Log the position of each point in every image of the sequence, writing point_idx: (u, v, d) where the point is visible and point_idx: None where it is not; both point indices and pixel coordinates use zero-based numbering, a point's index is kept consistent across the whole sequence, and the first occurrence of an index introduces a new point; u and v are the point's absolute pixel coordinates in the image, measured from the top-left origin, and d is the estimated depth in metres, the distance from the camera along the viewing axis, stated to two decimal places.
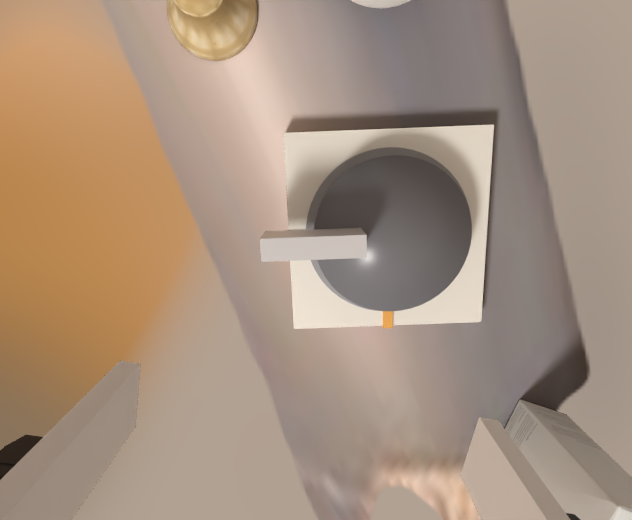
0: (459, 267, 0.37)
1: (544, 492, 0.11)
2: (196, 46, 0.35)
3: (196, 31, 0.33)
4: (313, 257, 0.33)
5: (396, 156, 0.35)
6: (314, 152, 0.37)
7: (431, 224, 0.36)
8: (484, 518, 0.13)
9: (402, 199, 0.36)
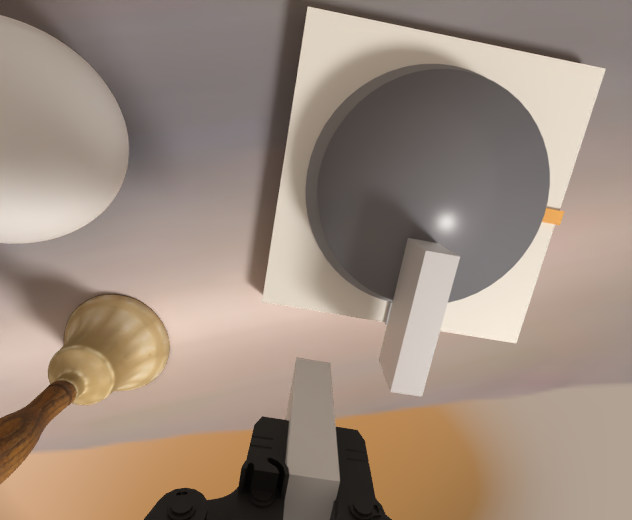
0: (511, 98, 0.23)
1: (327, 410, 0.13)
2: (151, 372, 0.31)
3: (133, 375, 0.29)
4: (436, 329, 0.23)
5: (322, 170, 0.24)
6: (293, 269, 0.28)
7: (431, 134, 0.24)
8: None
9: (384, 171, 0.24)
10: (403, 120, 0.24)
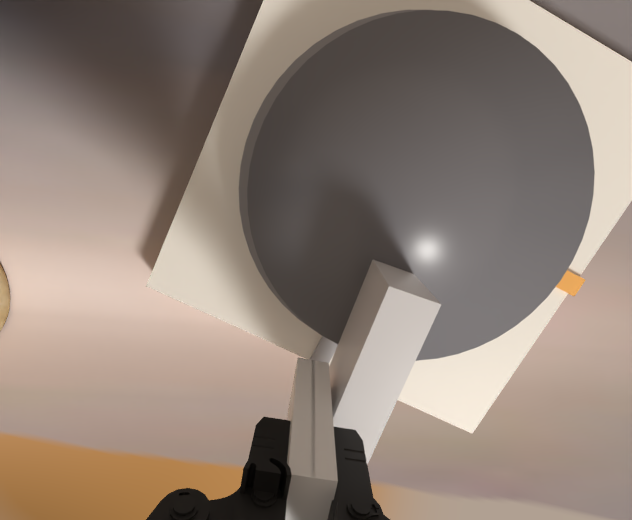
0: (556, 78, 0.16)
1: (326, 410, 0.13)
2: None
3: None
4: (387, 409, 0.15)
5: (260, 137, 0.16)
6: (200, 253, 0.20)
7: (431, 112, 0.16)
8: None
9: (352, 155, 0.16)
10: (392, 83, 0.16)
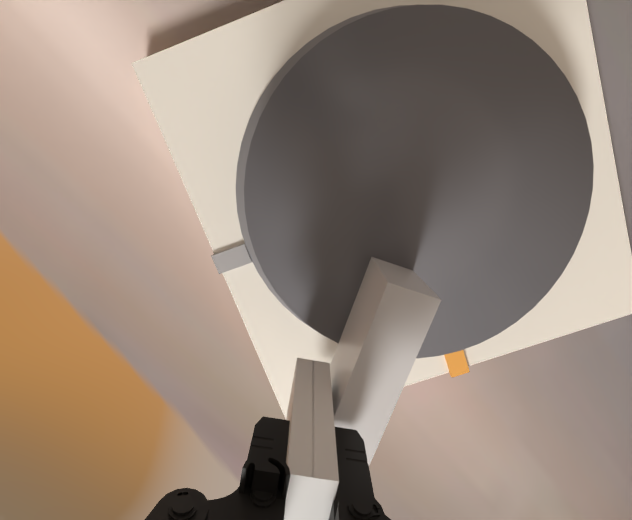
0: (553, 70, 0.15)
1: (327, 410, 0.13)
2: None
3: None
4: (388, 407, 0.14)
5: (256, 135, 0.16)
6: (206, 82, 0.18)
7: (427, 107, 0.16)
8: None
9: (348, 152, 0.16)
10: (387, 78, 0.15)
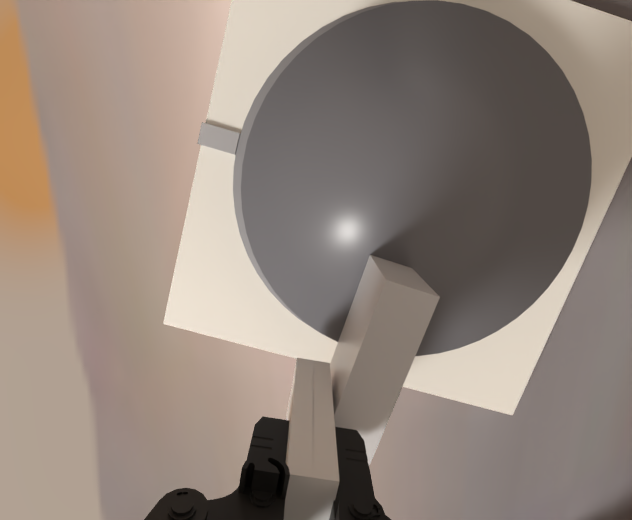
0: (549, 65, 0.15)
1: (327, 410, 0.13)
2: None
3: None
4: (388, 405, 0.14)
5: (252, 134, 0.16)
6: None
7: (423, 103, 0.16)
8: None
9: (345, 150, 0.16)
10: (383, 75, 0.15)
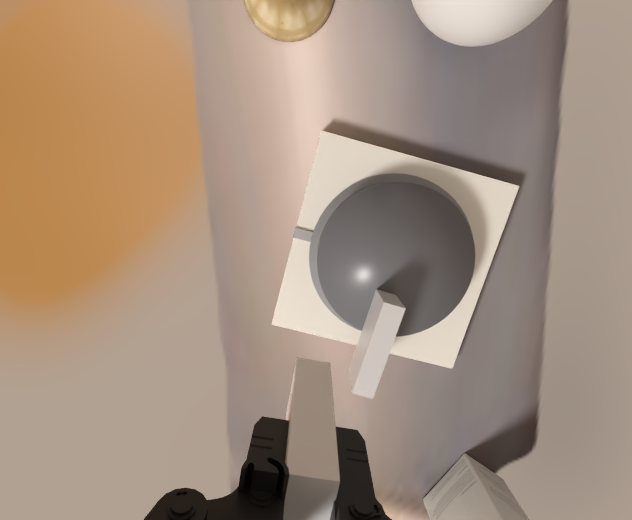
0: (452, 206, 0.35)
1: (328, 410, 0.13)
2: (262, 20, 0.35)
3: (268, 5, 0.33)
4: (386, 354, 0.34)
5: (322, 237, 0.36)
6: (345, 158, 0.37)
7: (398, 223, 0.36)
8: None
9: (364, 243, 0.36)
10: (380, 212, 0.35)
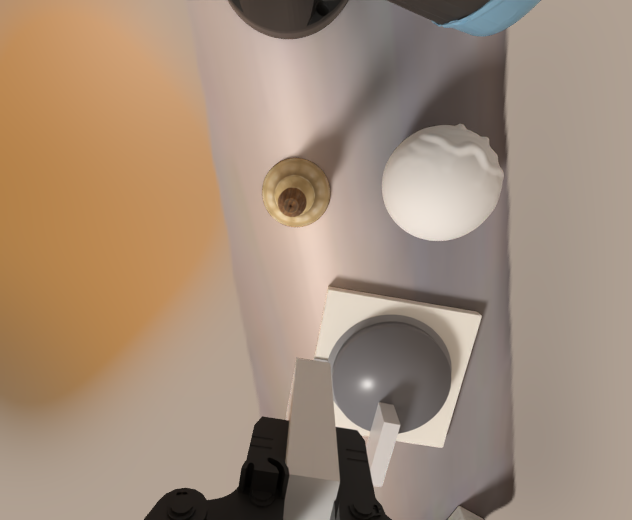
0: (430, 341, 0.47)
1: (328, 410, 0.13)
2: (279, 217, 0.47)
3: (283, 213, 0.45)
4: (389, 456, 0.47)
5: (335, 370, 0.48)
6: (347, 307, 0.49)
7: (391, 355, 0.48)
8: None
9: (367, 371, 0.48)
10: (377, 349, 0.48)
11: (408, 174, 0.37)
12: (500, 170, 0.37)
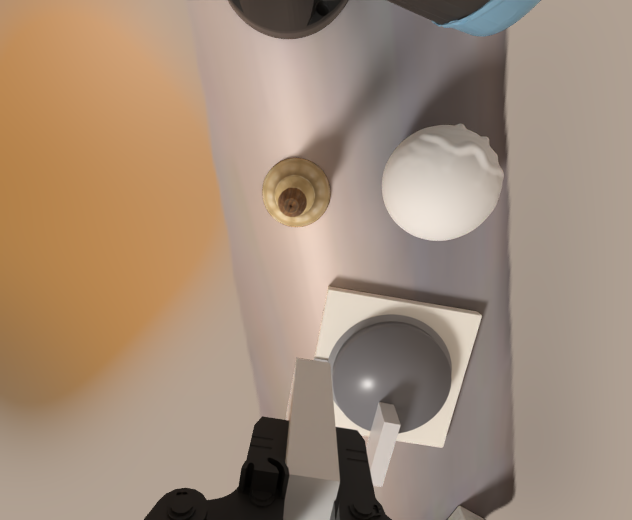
0: (430, 341, 0.47)
1: (328, 410, 0.13)
2: (279, 217, 0.47)
3: (283, 213, 0.45)
4: (389, 456, 0.47)
5: (336, 370, 0.48)
6: (348, 307, 0.49)
7: (391, 355, 0.48)
8: None
9: (367, 371, 0.48)
10: (377, 349, 0.48)
11: (408, 174, 0.37)
12: (500, 170, 0.37)
